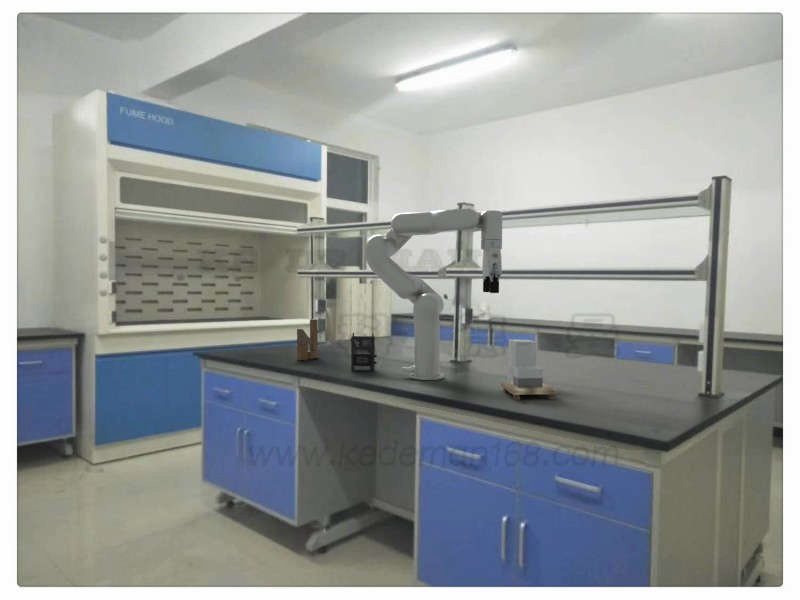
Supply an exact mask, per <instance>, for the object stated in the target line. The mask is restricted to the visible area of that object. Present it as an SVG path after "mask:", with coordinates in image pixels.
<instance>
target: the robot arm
mask: <svg viewBox="0 0 800 600" xmlns="http://www.w3.org/2000/svg"><path fill="white" fill-rule="evenodd" d="M451 231H466V232H468V233H475V232H480V250H482V251H483V252H482V267H481V268H482V275H483V278H482V282H483V283H482V292H483V293H490V294H499V293H500V277H501V276H502V273H503V271H502V267H503V265H502V251H501V250H503V248H502V247H503V213H502V211H500V210H496V209H495V210H492V209H491V210H484V211H482V212H477V211H476V210H474V209H471V208H457V209H444V210H433V211H431V210H430V211H417V212H415V211H414V212H412V211H411V212H399V213H396V214H395V215H393V217H392V218H391V221H390V229H388V230H387V232H385V234H374V235H372V236H371V237H370V238H368V240H367V242H366V244H365V249H364V255H365V261H366V263H367V265H368V267H369V269H370V270H371V271H372V272H373V273H374V274H375V275H376V277H378V278H379V279H380V280H381V281H382V282H384V284H385V285H387V286H388V287H389V289H391V290H392V291H393V293H395V294H396V295H397V296H398V297H399V298H400V299H403V300H408V301H410V302H411V303H412V304H413V307H412V312H413V323H414V324H413V325H414V327H413V328H414V329H413V331H414V332H413V333H414V334H413V335H414V338H413V339H414V346H413V347H414V354H413V355H414V359H413V360H414V361H413V362H414V363H413V364H412V365H410V366H408V367H407V366H401V373H410V375H409V377H410V378H411V379H413V380H419V381H437V380H438V381H439V380H442V379H444V373H441V372H440V366H441V365H440V364H441V363H440V360H441V359H440V357H441V356H440V354H441V353H440V352H441V350H440V347H441V336H440V335H441V327H440V325H441V324H440V314H442V312H443V311H444V308H445V307H444V306H445V303H444V300H443V298H442V296H441V295H440V294H439V293H438V292H437V291H435V289H433V288H432V287H431V286H430V285H429V284H427V282H426V281H424V280H423V279H422V278H421V277H419V276H418V275H415V274H411V273H408V272H407V271H406V270H404V269H403V268H402V267H401V266H400V265H399V264H398V263H397V262H396V261H395V260H394V259H392V258H391V257H393V256H394V255H396V253H398V251H400V249H402V248H403V246H404V245H406V243H408V242H409V241H410V240H411V238H413V236H422V235H423V236H426V235H429V236H430V235H436V234H440V233H441V232H451Z"/></svg>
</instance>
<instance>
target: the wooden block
mask: <svg viewBox="0 0 800 600" xmlns="http://www.w3.org/2000/svg"><path fill="white" fill-rule="evenodd" d="M318 321H319V319H317V318H310V319H309V335H308V334H307V333H306V332H305V330H304V329H303V328H297V329H296V344H297V345H296V357H297V358H296V360H297V361H300V360H304V361H308V360H315V359H314V358H316V359H319V358H320V350H319V347H318V346H319V344H318V343H319V342H318V341H319V337H318V336H319V335H318V334H319V332H318V330H319V329H318V328H319V327H318V326H319V324H318V323H319V322H318Z"/></svg>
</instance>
